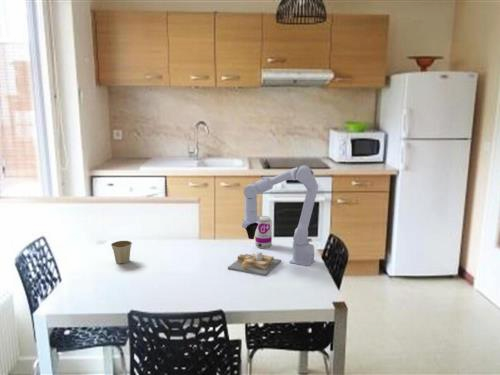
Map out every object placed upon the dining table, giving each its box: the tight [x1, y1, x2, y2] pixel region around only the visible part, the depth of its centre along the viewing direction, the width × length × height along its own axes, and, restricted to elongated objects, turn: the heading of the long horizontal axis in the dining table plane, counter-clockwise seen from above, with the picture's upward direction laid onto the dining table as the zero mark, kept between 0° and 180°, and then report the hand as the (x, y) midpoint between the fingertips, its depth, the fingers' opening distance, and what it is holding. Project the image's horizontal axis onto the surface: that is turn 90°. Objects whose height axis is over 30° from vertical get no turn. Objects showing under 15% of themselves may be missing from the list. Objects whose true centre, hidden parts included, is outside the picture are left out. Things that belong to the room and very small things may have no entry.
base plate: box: [227, 251, 282, 277], centre depth 194 cm, size 18×18×6 cm
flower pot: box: [110, 240, 133, 265], centre depth 200 cm, size 9×9×9 cm
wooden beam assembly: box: [237, 253, 275, 270], centre depth 194 cm, size 15×10×2 cm, turn 64°
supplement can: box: [254, 215, 273, 249], centre depth 218 cm, size 8×8×15 cm
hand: (251, 238), depth 200 cm, fingers closed
